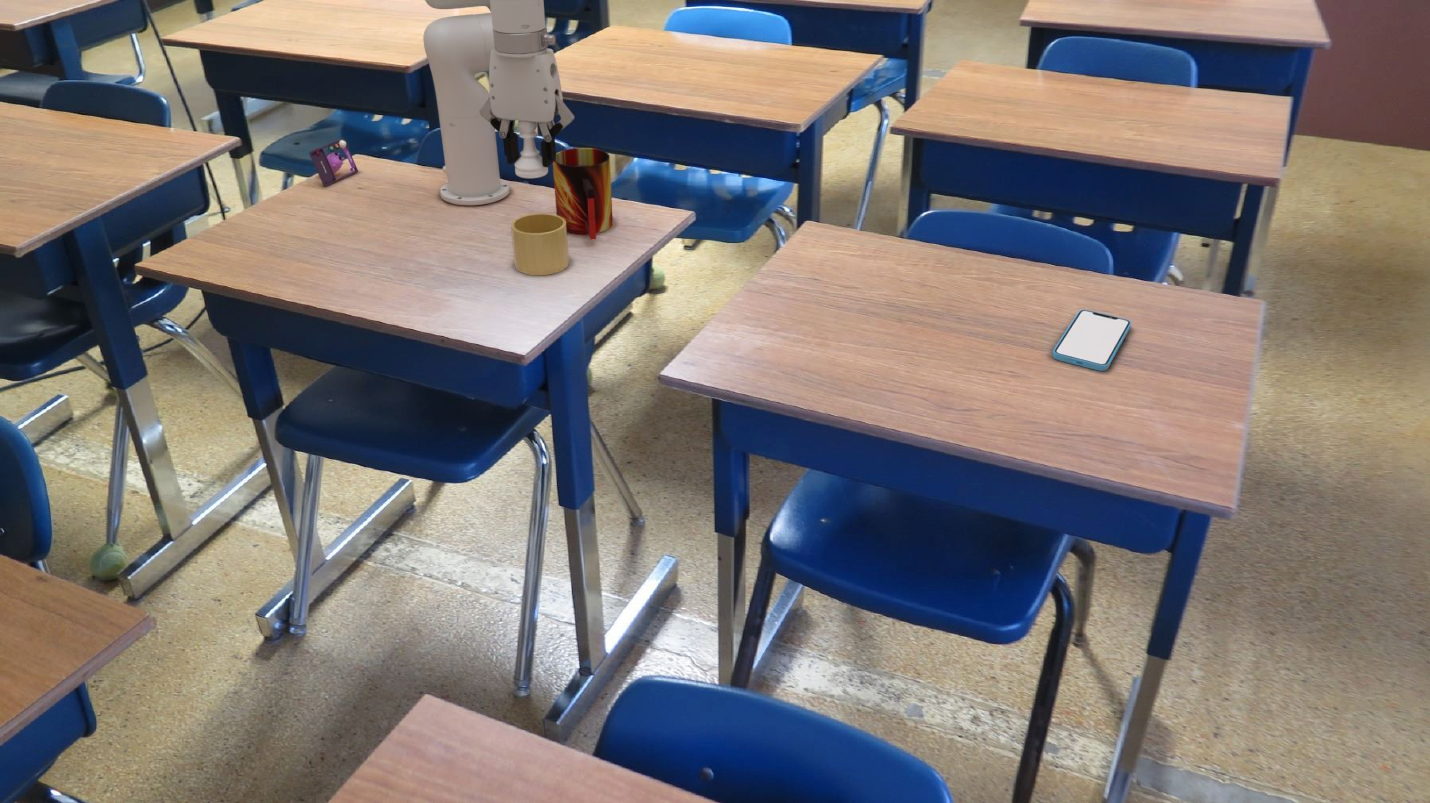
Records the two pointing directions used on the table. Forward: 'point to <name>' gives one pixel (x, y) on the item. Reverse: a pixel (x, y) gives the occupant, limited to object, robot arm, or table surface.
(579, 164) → the mug
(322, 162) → the game card
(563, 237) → the yellow cup
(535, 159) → the chess pawn
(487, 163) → the robot arm
